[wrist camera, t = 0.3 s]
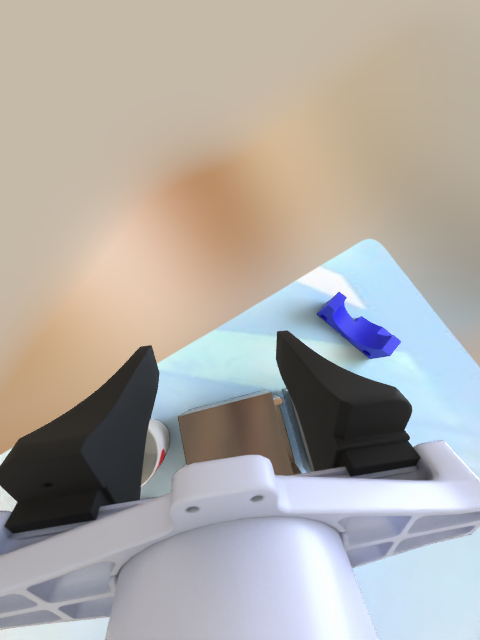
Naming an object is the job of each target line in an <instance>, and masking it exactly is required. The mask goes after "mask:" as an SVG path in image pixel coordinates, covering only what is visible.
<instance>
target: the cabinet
mask: <svg viewBox="0 0 480 640" xmlns="http://www.w3.org/2000/svg"><path fill="white" fill-rule="evenodd" d="M178 420H179V426H180V431H181V437H182V442H183V448H184V453H185V459H186V464H187V465H190V464H193V463H199V462H205V461H212V460H218V459H224V458H231V457H237V456H244V455H261V456H263V457H265V458H267V459H269V460H270V462H271V464H272V466H273V470H274V474H275V475H282V476H290V475H294V474H293V470H292V467H291V463H290V459H289V455H288V452H287V448H286V444H285V441H284V437H283V433H282V430H281V426H280V422H279V418H278V415H277V411H276V407H275V404H274V400H273V396H272V393H271V392H270V391H268V390H262V391H259V392H255V393H251V394H247V395H243V396H239V397H236V398H232V399H228V400H224V401H220V402H217V403H213V404H209V405H205V406H201V407H198V408H194V409H190V410H188V411H187V412H185V413H183V414H182V415H180V416H178Z"/></svg>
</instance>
